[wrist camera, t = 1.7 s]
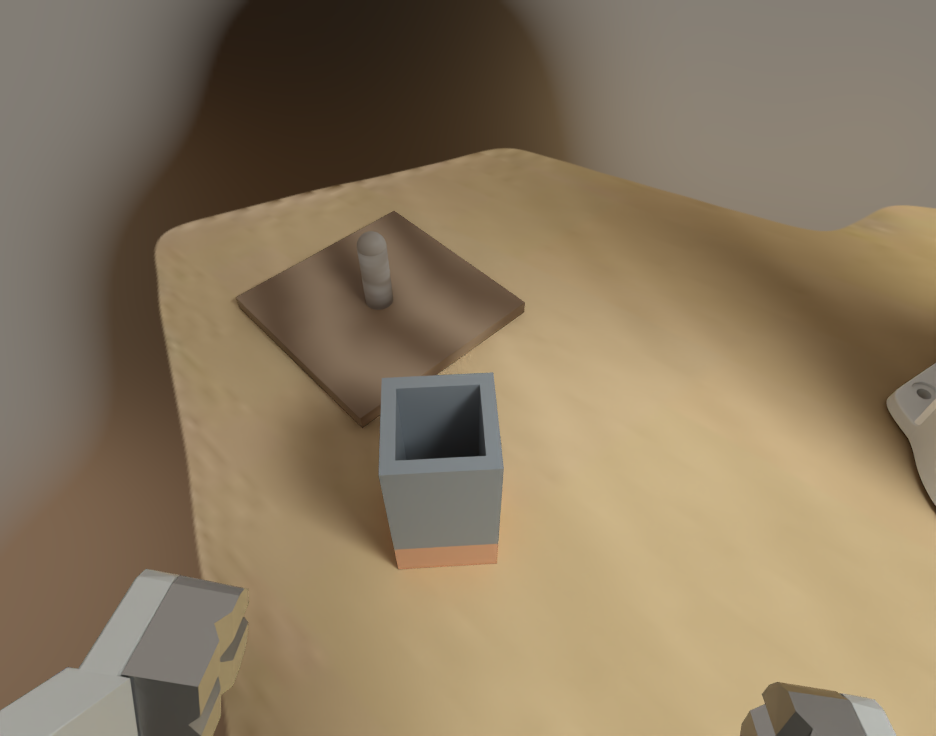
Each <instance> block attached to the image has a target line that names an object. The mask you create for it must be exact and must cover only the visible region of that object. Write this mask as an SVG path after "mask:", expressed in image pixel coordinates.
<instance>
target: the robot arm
mask: <svg viewBox="0 0 936 736" xmlns="http://www.w3.org/2000/svg"><path fill="white" fill-rule="evenodd" d="M887 407H888V410H889V412H890V414H891V415H892V417H893V418H894V420H895V421H896V423H897V424H898V425H899V427H900V428H901V430H902V431H903V432H904V434H905V435H906V436H907V437H908V439H909V441H910V444H911V447H912V450H913V454H914V458H915V462H916V466H917V469H918V472H919V475H920V478H921V480H922V483H923V485H924V487H925V489H926V491H927V492H928V494H929V496H930V498H931V499H932V501H933V502H934V504H935V505H936V363H935V364H933V365H932V366H930V367H929V368H927V369H926V370H924V371H923V372H921V373H920V374H918V375H917V376H915V377H914V378H913V379H911V380H910V381H908V382H907V383H905V384H904V385H902V386H901V387H899V388H898V389H897V390H896V391H895V392H894V393H892V394H891V395H890V396H889V397H888V399H887ZM248 604H249V597H248V589H247V588H242V587H237V586H232V585H227V584H222V583H217V582H212V581H206V580H201V579H196V578H191V577H186V576H181V575H177V574H171V573H166V572H160V571H155V570H149V569H145V570H144V571H143V572H142V573H141V574H140V575H139V576H138V577H137V578H136V579H135V580H134V582H133V583H132V585H131V586H130V588H129V590H128V591H127V593H126V594H125V596H124V598H123V599H122V601H121V602H120V604H119V605H118V607H117V609H116V610H115V612H114V613H113V615H112V617H111V618H110V620H109V621H108V623H107V624H106V626H105V628H104V629H103V631H102V632H101V634H100V635H99V637H98V638H97V640H96V642H95V643H94V645H93V646H92V648H91V650H90V651H89V653H88V654H87V656H86V658H85V659H84V661H83V662H82V664H81V665H80V667H79V668H70V667H67V668H66V669H64V670H62V671H61V672H59V673H58V674H57V675H55V676H53V677H51V678H50V679H48V680H47V681H45V682H44V683H42V684H41V685H39V686H38V687H36V688H34V689H33V690H31V691H30V692H28V693H27V694H25V695H23V696H22V697H20V698H19V699H17V700H16V701H14V702H12V703H11V704H9V705H8V706H6V707H5V708H3V709H2V710H0V736H213V734H214V732H215V729H216V727H217V724H218V722H219V719H220V717H221V695H222V694H223V693H225V692H226V691H227V690H228V689H230V688H231V687H232V686H233V684H234V682H235V679H236V676H237V674H238V671H239V669H240V666H241V662H242V659H243V655H244V652H245V648H246V643H247V636H248V621H247V620H246V619H245V618H244V617H243V616H244V613H245V611H246V608H247V606H248ZM762 696H763V699H764V702H765V704H764V705H762V706H760V707H757V708H755V709H753V710H750V711H749V713H748V715H747V716H746V718H745V719H744V721H743V722H742V726H741V733H740V736H896V734H895V732H894V730H893V728H892V726H891V724H890V722H889V720H888V718H887V716H886V714H885V712H884V710H883V708H882V707H881V706H880V705H879V704H878V703H877V702H876V701H875V700H874V699H870V698H867V697H861V696H854V695H848V694H841V693H838V692H836V691H831V690H824V689H818V688H812V687H806V686H800V685H793V684H787V683H781V682H776V683H773V684H770V685H769V686H768V687H767V688H766V690H765V691H764V692H763V693H762Z"/></svg>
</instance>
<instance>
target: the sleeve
mask: <svg viewBox="0 0 936 736" xmlns="http://www.w3.org/2000/svg"><path fill="white" fill-rule="evenodd" d="M503 471H504V467H503V458H502V449H501V440H500V431H499V421H498V412H497V403H496V394H495V385H494V376H493V373H474V374H454V375H433V376H412V377H391V378H382V385H381V416H380V448H379V480H380V484H381V489H382V494H383V499H384V503H385V508H386V513H387V518H388V522H389V527H390V532H391V537H392V541H393V546H394V551H395V555H396V560H397V565H398V569H409V568H426V567H443V566H460V565H477V564H495V563H497V552H498V538H499V525H500V511H501V498H502V484H503Z"/></svg>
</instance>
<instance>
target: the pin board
mask: <svg viewBox="0 0 936 736" xmlns="http://www.w3.org/2000/svg"><path fill="white" fill-rule="evenodd" d="M236 300H237V302H238V305H239V307H240V308H241V309H242V310H243V311H244V312H245V313H246V314H247V315H248V316H249V317H250V318H251V319H252V320H253V321H254V322H255V323H256V324H257V325H258V326H259V327H260V328H261V329H262V330H263V331H264V332H265V333H266V334H267V335H268V336H269V337H270V338H271V339H272V340H273V341H274V342H275V343H277V344H278V345H279V346H280V347H281V348H282V349H283V350H284V351H285V352H286V353H287V354H288V355H289V356H290V357H291V358H292V359H293V360H294V361H295V362H296V363H297V364H298V365H299V366H300V367H301V368H302V369H303V370H304V371H305V372H306V373H307V374H308V375H309V376H310V377H311V378H312V379H313V380H314V381H315V382H316V383H317V384H318V385H319V386H320V387H321V388H322V389H323V390H324V391H325V392H327V393H328V394H329V395H330V396H331V397H332V398H333V399H334V400H335V401H336V402H337V403H338V404H339V405H340V406H341V407H342V408H343V409H344V410H345V411H346V412H347V413H348V414H349V415H350V416H351V417H352V418H353V419H354V420H355V421H356V422H357V423H358V424H359V425H360V426H361V427H362V428H363V427H364V426H365V425H367V424H368V423H370V422H371V421H372V420H374V419H375V418H377V417H378V416H379V415H381V385H382V378H391V377H412V376H433V375H437V374H438V373H439V372H441V371H442V370H444V369H445V368H446V367H448V366H449V365H451V364H452V363H453V362H455V361H456V360H458V359H459V358H460V357H462V356H463V355H465V354H466V353H467V352H469V351H470V350H472V349H473V348H474V347H476V346H477V345H479V344H480V343H481V342H483V341H484V340H486V339H487V338H488V337H490V336H491V335H493V334H494V333H495V332H497V331H498V330H500V329H501V328H502V327H504V326H505V325H507V324H508V323H509V322H511V321H512V320H514V319H515V318H516V317H518V316H519V315H521V314H522V313H523V312H524V306H525V302H523V301H522V300H521V299H519V298H518V297H516V296H515V295H513V294H512V293H511V292H509V291H508V290H506V289H505V288H504V287H502V286H501V285H499V284H498V283H496V282H495V281H494V280H492V279H491V278H489V277H488V276H486V275H485V274H484V273H482V272H481V271H479V270H478V269H476V268H475V267H474V266H472V265H471V264H469V263H468V262H466V261H465V260H464V259H462V258H461V257H459V256H458V255H456V254H455V253H454V252H452V251H451V250H449V249H448V248H446V247H445V246H444V245H442V244H441V243H439V242H438V241H437V240H435V239H434V238H432V237H431V236H429V235H428V234H427V233H425V232H424V231H422V230H421V229H419V228H418V227H417V226H415V225H414V224H412V223H411V222H409V221H408V220H407V219H405V218H404V217H402V216H401V215H399V214H398V213H397V212H395V211H393V212H391V213H389V214H387V215H385V216H384V217H382V218H380V219H378V220H376V221H374V222H373V223H371V224H369V225H367V226H365V227H364V228H362V229H360V230H358V231H356V232H354V233H353V234H351V235H349V236H347V237H345V238H343V239H342V240H340V241H338V242H336V243H334V244H332V245H331V246H329V247H327V248H325V249H323V250H321V251H320V252H318V253H316V254H314V255H312V256H311V257H309V258H307V259H305V260H303V261H301V262H300V263H298V264H296V265H294V266H292V267H290V268H289V269H287V270H285V271H283V272H281V273H279V274H278V275H276V276H274V277H272V278H270V279H268V280H267V281H265V282H263V283H261V284H259V285H258V286H256V287H254V288H252V289H250V290H248V291H247V292H245V293H243V294H241V295H239V296H237V297H236Z"/></svg>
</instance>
